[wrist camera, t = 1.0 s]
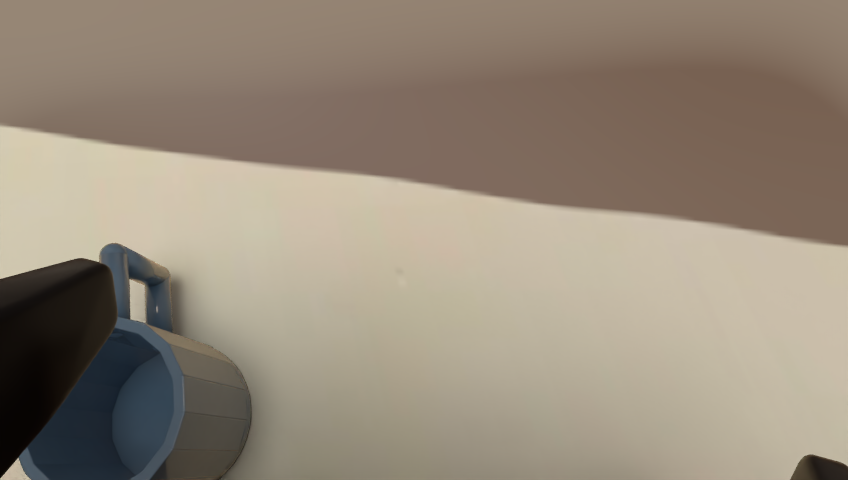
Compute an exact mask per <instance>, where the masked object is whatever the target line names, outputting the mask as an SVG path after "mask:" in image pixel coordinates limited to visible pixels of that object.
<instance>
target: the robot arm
mask: <svg viewBox="0 0 848 480" xmlns="http://www.w3.org/2000/svg"><path fill="white" fill-rule="evenodd" d="M117 318H118V309H117V301H116V294H115V286H114V279H113V273H112V271H111V269H110V268H109V266H107V265H106V264H103V263H99V262H96V261H92V260H88V259H83V258H78V259H74V260H70V261H66V262H63V263H59V264H55V265H51V266H48V267H44V268H40V269H36V270H33V271H29V272H25V273H21V274H18V275H14V276H10V277H7V278H3V279H0V478H1V477H2V476H3V475H4V474H5V472H6V471H7V470H8V469H9V468H10V467H11V465H12V464H13V463H14V462H15V461H16V460H17V458H18V457H19V456H20V455H21V454H22V453H23V451H24V450H25V449H26V448H27V447H28V446H29V444H30V443H31V442H32V441H33V440H34V439H35V437H36V436H37V435H38V434H39V433H40V432H41V430H42V429H43V428H44V427H45V426H46V424H47V423H48V422H49V421H50V419H51V418H52V417H53V416H54V414H55V413H56V411H57V410H58V409H59V407H60V406H61V405H62V403H63V402H64V401H65V399H66V398H67V396H68V395H69V393H70V392H71V391H72V389H73V388H74V386H75V385H76V383H77V382H78V381H79V379H80V378H81V376H82V375H83V373H84V372H85V371H86V369H87V368H88V366H89V365H90V363H91V362H92V361H93V359H94V358H95V356H96V355H97V353H98V352H99V351H100V349H101V348H102V346H103V345H104V343H105V342H106V341H107V339H108V338H109V336H110V335H111V333H112V332H113V330H114V328H115V326H116V323H117ZM790 480H848V467H847V466H846V465H845V464H843V463H841V462H838V461H834V460H830V459H827V458H823V457H819V456H816V455H807V456H804V457H803V458H802V459H801V460H800V462H799V463H798V465H797V467H796V469H795V471H794V473H793V475H792V477H791V479H790Z"/></svg>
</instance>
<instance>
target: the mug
mask: <svg viewBox="0 0 848 480" xmlns="http://www.w3.org/2000/svg"><path fill="white" fill-rule="evenodd" d="M99 263H103V264H106V265H107V266H109V268H110V269H111V271H112V273H113V279H114V286H115V294H116V301H117V309H118V318H117V323H116V326H115V328H114V330H113V332H112V333H111V335H110V336H109V338H108V339H107V341H106V342H105V343H104V345H103V346H102V348H101V349H100V351H99V352H98V353H97V355H96V356H95V358H94V359H93V361H92V362H91V363H90V365H89V366H88V368H87V369H86V371H85V372H84V373H83V375H82V376H81V378H80V379H79V381H78V382H77V383H76V385H75V386H74V388H73V389H72V391H71V392H70V393H69V395H68V396H67V398H66V399H65V401H64V402H63V403H62V405H61V406H60V407H59V409H58V410H57V411H56V413H55V414H54V416H53V417H52V418H51V419H50V421H49V422H48V423H47V424H46V426H45V427H44V428H43V429H42V430H41V432H40V433H39V434H38V435H37V436H36V437H35V439H34V440H33V441H32V442H31V443H30V444H29V446H28V447H27V448H26V449H25V450H24V451H23V453H22V454H21V455H20V456H19V460H20V463H21V465H22V468H23V471H24V472H25V474H26V475H27V476H28V477H29V478H30V479H31V480H218V479H219V478H220V477H221V476H222V475H224V474H225V473H226V472H227V471H228V469H229V468H230V467H231V466H232V465H233V463H234V462H235V460H236V459H237V457H238V456H239V454H240V452H241V450H242V448H243V446H244V444H245V441H246V438H247V435H248V431H249V427H250V420H251V403H250V396H249V392H248V388H247V385H246V383H245V380H244V378H243V376H242V375H241V373H240V371H239V369H238V368H237V367H236V366H235V364H234V363H233V362H232V361H231V360H230V359H229V358H228V357H227V356H225V355H224V354H222V353H221V352H220V351H218V350H216V349H214V348H213V347H211V346H209V345H206V344H203V343H200V342H197V341H194V340H192V339H189V338H186V337H183V336H180V335H177V334H174V333H173V324H172V299H171V276H170V272H169V271H168V270H167V269H166V268H165V267H163V266H161V265H159V264H158V263H156V262H154V261H152V260H150V259H148V258H146V257H144V256H142V255H140V254H138V253H136V252H134V251H132V250H130V249H128V248H127V247H125V246H123V245H121V244H118V243H110V244H108V245H106V246H104V247H103V248H102V249H101V251H100V254H99ZM129 279H131V280H133V281H135V282H137V283H140V284H142V285H144V286H145V313H146V324H145V323H142V322H138V321H134V320H130V284H129Z"/></svg>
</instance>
